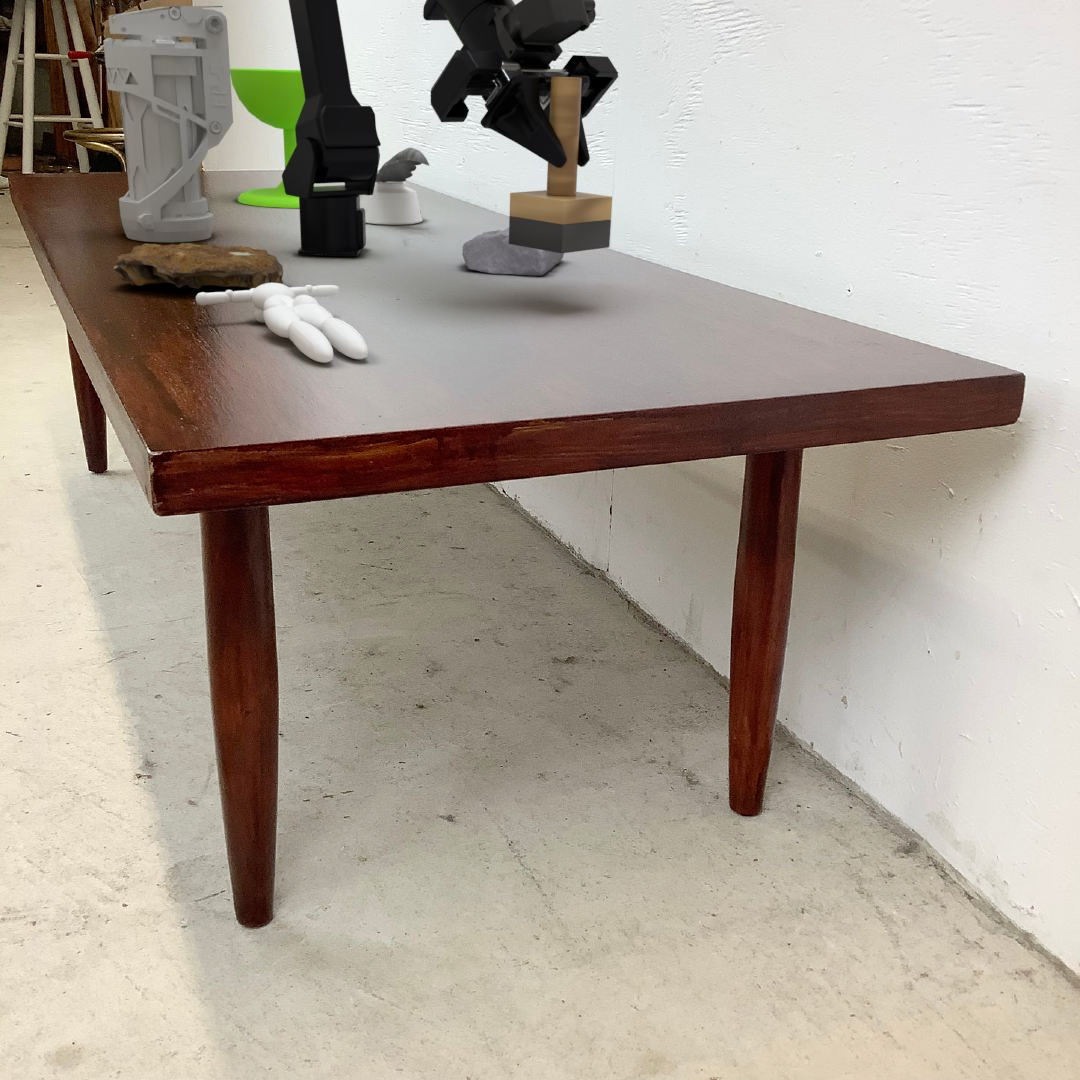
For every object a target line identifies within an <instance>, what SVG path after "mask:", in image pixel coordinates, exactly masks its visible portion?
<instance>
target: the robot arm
mask: <svg viewBox="0 0 1080 1080" xmlns="http://www.w3.org/2000/svg"><path fill="white" fill-rule="evenodd" d="M288 5H289V10H290V16H291V22H292V29H293V34H294V41H295V45H296V46H295V47H296V52H297V57H298V58H297V59H298V64H299V69H300V70H301V76H302V82H303V88H304V94H305V102H304V105H303V108H302V110H301V113H300V116H299V118H298V121H297V123H296V126H295V133H296V144H297V146H296V148H295V150H294V152H293V154H292V156H291V158H290V160H289V162H288V164H287V166H286V168H285V167H284V169H283V171H282V173H281V181H282V180H283V184H284V189H285V193H286V195H291V196H296V197H299V208H298V209H299V228H300V230H299V231H300V248H299V249H298V250H297V254H298V255H300V256H301V255H302V256H327V257H330V256H331V257H332V256H333V257H335V256H336V257H358V256H359V255H360V254H361V252H362V251H363V250H364V248H365V247H366V245H367V229H366V227H367V226H366V225H367V223H365V209H364V208H360V195H373V192H374V187H375V181H376V176H377V172H378V171H379V167H380V165H379V164H380V161H381V153H380V147H381V145H382V144H381V141H380V139H379V136H378V131H377V122H376V113H375V111H374V109H373V107H372V106H371V105H361V103H360V102H359V100H358V99H357V98H356V97H355V95H354V94H353V91H352V87H351V80H350V74H349V67H348V61H347V54H346V48H345V43H344V36H343V29H342V24H341V23H342V22H341V18H340V12H339V5H338V0H288ZM422 11H423V13H422V16H423V19H424V20H425V21H447V22H448V23H449V24H450V26H451V27H452V30H453V31H454V33H455V34H456V36H457V38H458V39H459V41H460V43H461V45H462V46H461V48H460V49H455V52H454V53H453V55H452V56H451V58H450V59H449V61H448V62H447V64H446V65H445V67H444V68H443V70H442V71H441V73H440V74H439V76H438V77H437V79H436V80H435V82H434V83H433V85H432V87H431V88H430V105H431V108H432V109H433V111H434V113H435V114H436V117H438V119H439V121H440V123H464V122H465V121H466V119H467V118H468V115H469V112H470V109H469V107H468V106H467V104H466V102H465V101H466V99H467V98H468V97H471V96H474V97H476V96H478V97H481V98H482V100H483V101H484V102H485V103H484V107H485V109H486V110H487V111H486V112H485V114H484V115H483V117H482V118H481V120H480V123H479V124H480V125H481V126H482V127H483V128H484V129H489V130H492V131H493V132H495V133H496V134H499V135H501V136H503V137H505V138H507V139H508V140H510V141H512V142H514V143H516V144H518V145H519V146H521V147H522V148H524V149H526V150H527V151H530V152H531V153H532V154H534V155H536V156H538V157H539V158H541V159H542V160H544V161H546V162H547V163H548V162H549V163H550V164H552V165H554V166H555V167H557V168H562V167H563V166H564V165H565V163H566V162H567V157H566V154H565V152H564V150H563V147H562V145H561V143H560V141H559V139H558V137H557V135H556V133H555V131H554V129H553V127H552V126H551V124H550V122H549V120H550V94H551V77H552V76H556V77H579V78H582V84H581V105H580V126H579V146H578V167H580V168H583V167H585V166H586V165H587V164H588V163H589V162H590V160H591V159H590V158H591V157H590V152H589V147H588V142H587V136H586V132H585V128H584V123H583V119H585V118H586V117H587V116H588V115H589V114H590V113H591V112H592V110H593V109H594V108H595V106H596V105H598V103H599V101H600V100H601V99H602V98H603V96H604V95H605V94H606V93H607V92H608V91H609V89H610V88H611V86H612V85H613V84H614V83H615V82H616V81H617V79H618V78H619V71H618V70H617V69H616V67H615V66H614V64H613V63H612V61H611V59H610V58H609V56H606V55H605V56H603V55H584V54H583V55H582V54H581V55H580V54H579V55H578V54H573V55H572V56H571V57H570V59H568V61H567V63H566V64H565V65H564V66H563V68H560V69H559V68H551V66H550V64H551V63H552V62H556V61H557V60H558V59H559V57H560V56H561V55H562V53H563V52H564V50H563V49H562V47H561V44H562V43H563V42H564V41H566V40H568V39H569V38H571V37H572V36H574V35H575V34H577V33H578V32H584V31H586V30H587V29H589V28H590V26H591V24H593V23H594V22H595V19H596V16H597V13H596V1H595V0H520V1H518V2H517V3H515V2H514V0H425V3H424V4H423V10H422ZM341 183H344V184H342V185H340V184H341ZM315 184H318V185H319V184H339V185H319V186H315Z"/></svg>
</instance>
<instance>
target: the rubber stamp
mask: <svg viewBox="0 0 1080 1080" xmlns="http://www.w3.org/2000/svg"><path fill="white" fill-rule="evenodd" d="M581 84H582V78H579V77H556V76H552V77H551V94H550V120H549V122H550V124H551V126H552V127H553V129H554V131H555V133H556V135H557V137H558V139H559V141H560V143H561V145H562V147H563V150H564V152H565V154H566V157H567V162H566V163H565V165H564V166H563V167H562V168H557V167H555V166H554V165H552V164H550V163H549V162H547V170H546V171H547V172H546V173H547V175H546V176H547V177H546V189H544V190H531V191H516V192H515V191H514V192H510V193H509V218H508V219H509V220H508V221H509V222H508V228H509V244H512V245H518V246H523V247H529V248H534V249H539V250H545V251H550V252H556V253H561V254H562V253H564V254H568V253H575V252H576V253H577V252H583V251H592V250H593V251H594V250H599V249H608V248H610V244H611V229H612V228H611V227H612V211H613V196H611V195H603V194H597V193H590V192H581V191H577V187H578V185H577V184H578V167H579V165H578V146H579V126H580V105H581Z"/></svg>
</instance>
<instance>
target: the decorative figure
mask: <svg viewBox="0 0 1080 1080" xmlns="http://www.w3.org/2000/svg"><path fill="white" fill-rule="evenodd" d="M339 293H340V288H339V286H337V285H334V284H322V285H321V284H320V285H312V284H306V285H305V286H292V287H291V286H287V284H285V283H283V284H280V283H266V284H262V285H260V286H258V287H256V288H252V289H250V288H249V289H244V290H234V291H233V290H232V289H226V290H225V291H214V292H211V291H210V292H204V291H201V292H198V293H197V294H196V296H195V302H196V304H197V305H198V306H201V307H205V306H210V305H223V304H227V303H229V302H231V303H236V304H237V303H240V304H241V303H251V302H252V305H253V308H252V314H253V317H254V319H255V320H256V321H257V322H259V323H265V325H266V326H267V327H268V329H269V330H270V331H271V332H272V333H274V334H275V335H277V336H278V337H281V338H285V339H289V340H290V341H291V342H292V343H293V344H294V345H295V346H296V348H297V349H298V350H299V352H301V353H302V354H304V355H305V356H306V357H308V358H309V359H311V360H313V361H315V362H317V363H321V364H322V363H324V364H327V363H329V362H331V361H332V360H333V358H334V349H333V348H335V350H337V351H338V352H340V353H341V354H343V355H344V356H346V357H349V358H351V359H354V360H363V359H365V358H367V356H368V354H369V348H368V347H369V346H368V345H367V342H366V340H365V339H364V337H363V335H362V334H360V333H359V331H358V330H356V329H355V328H354V327H353V326H352V325H350V324H349V323H348V322H346V321H344V320H342V319H339V318H336V317H334V316H333V313H331V312H330V311H329V310H328V309H327V308H325V307H324V306H322V305H320V304H319V302H318V300H317V299H316V298H324V297H325V298H326V297H334V296H337V295H338V294H339Z"/></svg>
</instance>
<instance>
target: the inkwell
mask: <svg viewBox="0 0 1080 1080" xmlns="http://www.w3.org/2000/svg"><path fill="white" fill-rule="evenodd" d="M422 164H423V165H426V166H430V163H429V161H428V159H427V157H426V156H425V154H424V153H423V152H422V151H421V150H420V149H419V150H418V149H417V148H414V147H407V148H405V149H402V150H400V151H399V152H397V153H396V154H395V155H393V156H392V157H391V158H390V159H388V160H387V161H385V163H383V164H382V166H381V167H380V169H378V171H377V176H376V181H375V187H374V192H373V195H360V208H364V209H365V223H366V224H372V225H373V224H374V225H389V226H390V225H393V226H395V225H398V226H399V225H414V224H419V223H422V221H423V220H424V218H423V217H424V216H423V213H422V209H421V205H420V201H419V197H418V194H417V191H416V190H415V189H414V188H411V187H408V186H406V182H407V179H409V178H411V177H413V175H414V174H413V173H412V172H415V171H416V170H417V166H420V165H422Z"/></svg>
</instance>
